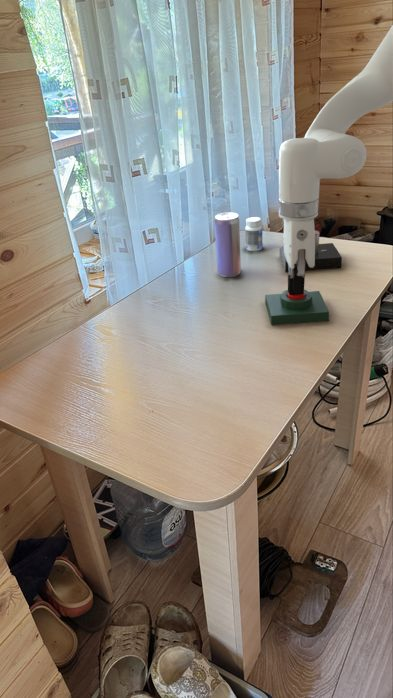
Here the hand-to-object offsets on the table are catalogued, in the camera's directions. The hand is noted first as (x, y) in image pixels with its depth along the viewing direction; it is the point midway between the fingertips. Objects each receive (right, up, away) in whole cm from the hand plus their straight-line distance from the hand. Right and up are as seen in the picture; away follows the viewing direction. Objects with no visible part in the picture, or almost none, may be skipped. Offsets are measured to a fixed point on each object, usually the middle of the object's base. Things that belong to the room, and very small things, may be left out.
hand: (295, 292), depth 109 cm
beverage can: (-13, +7, +22) cm, 27 cm away
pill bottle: (-5, +16, +36) cm, 40 cm away
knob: (+8, +13, +23) cm, 27 cm away
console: (+8, +10, +24) cm, 28 cm away
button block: (0, -4, +2) cm, 5 cm away
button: (0, -1, +1) cm, 2 cm away
